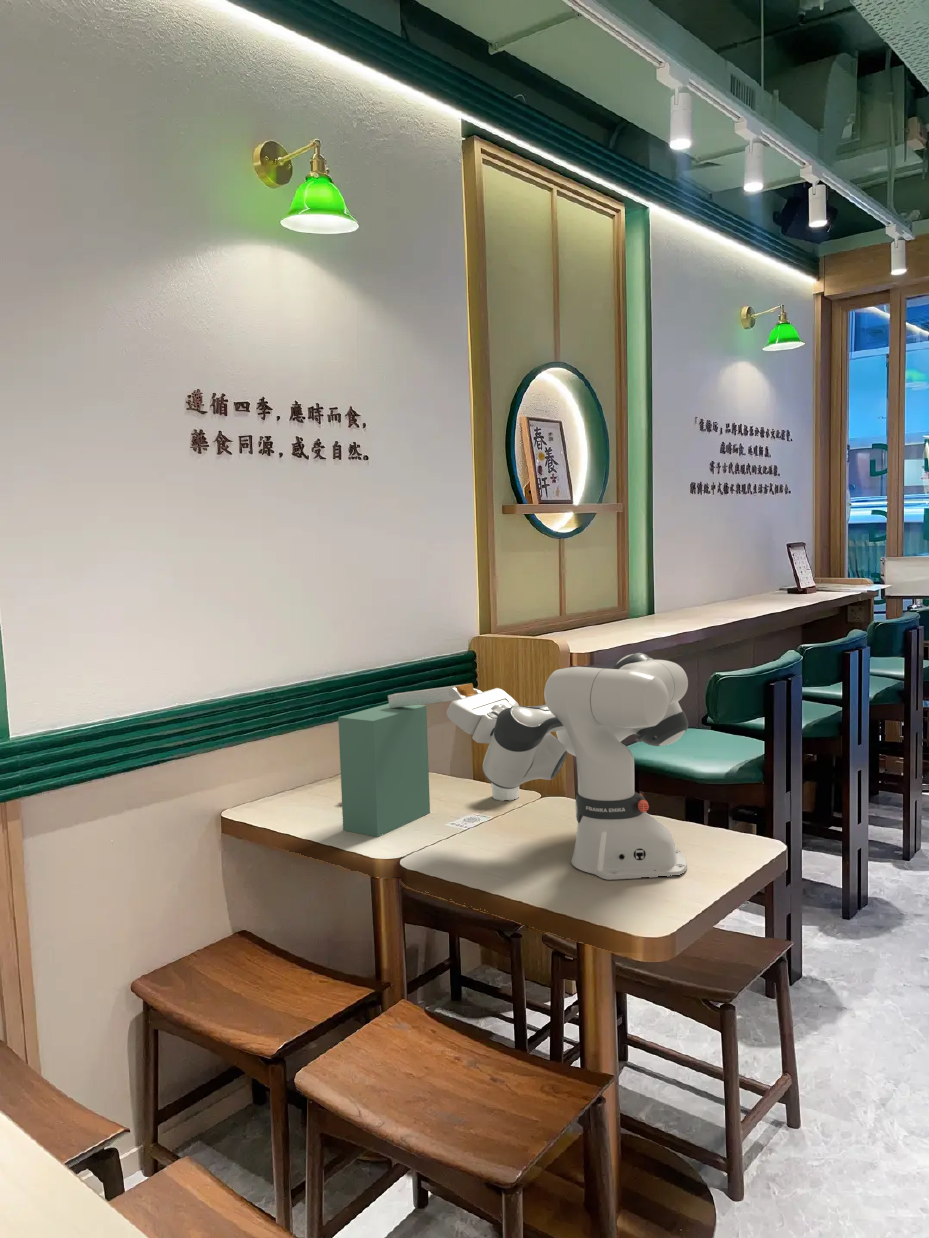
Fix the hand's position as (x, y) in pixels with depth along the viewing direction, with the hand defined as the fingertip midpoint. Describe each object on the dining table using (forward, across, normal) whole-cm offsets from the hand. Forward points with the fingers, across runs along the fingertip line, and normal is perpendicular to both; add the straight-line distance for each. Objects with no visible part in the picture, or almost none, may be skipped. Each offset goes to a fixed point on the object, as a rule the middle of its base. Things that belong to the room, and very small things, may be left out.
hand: (456, 688), depth 209 cm
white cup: (-13, -24, +29) cm, 40 cm away
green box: (-1, +5, +36) cm, 36 cm away
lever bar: (+4, 0, +7) cm, 8 cm away
